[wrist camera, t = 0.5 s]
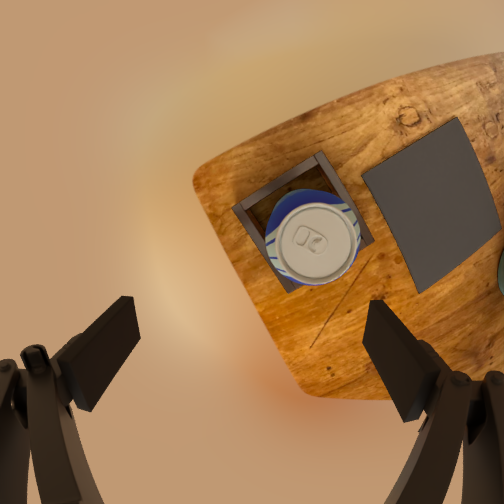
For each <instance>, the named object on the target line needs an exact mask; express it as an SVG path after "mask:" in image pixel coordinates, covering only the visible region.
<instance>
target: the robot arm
mask: <svg viewBox="0 0 504 504" xmlns="http://www.w3.org/2000/svg"><path fill="white" fill-rule="evenodd" d="M140 339H141V337H140V332H139V327H138V322H137V317H136V311H135V305H134V299H133V297H130V296H121V297H120V298H119V299H118V300H117V301H116V302H114V303H113V304H112V305H111V306H110V307H109V308H108V309H107V310H106V311H105V312H104V313H103V314H102V315H101V316H100V317H99V318H98V319H96V321H94V322H93V323H92V324H91V325H90V326H89V327H88V328H87V329H86V330H85V331H84V332H83V333H80V334H78V335H76V336H74V337H72V338H71V339H70V340H69V341H68V342H67V344H65V345H64V346H63V347H62V348H61V349H60V350H59V351H58V352H57V353H56V354H55V355H54V356H53V357H52V358H51V359H49V357H48V354H47V351H46V349H45V347H44V346H43V345H39V344H36V345H31V346H28V347H26V348H25V349H24V350H23V351H22V352H21V354H20V356H21V358H22V361H23V363H24V366H25V368H26V369H18V367H17V364H16V362H15V361H14V360H13V359H4V360H1V361H0V504H27V483H28V469H29V458H30V450H31V454H32V460H33V466H34V472H35V477H36V482H37V486H38V490H39V495H40V499H41V503H42V504H104V502H103V500H102V498H101V496H100V494H99V491H98V489H97V486H96V484H95V481H94V479H93V477H92V473H91V471H90V468H89V465H88V463H87V460H86V457H85V454H84V451H83V448H82V444H81V441H80V438H79V434H78V431H77V428H76V424H75V420H74V416H73V412H72V409H71V407H70V404H69V403H70V402H71V401H72V400H74V402H75V404H76V405H77V408H79V409H82V410H85V411H88V412H92V410H93V408H94V407H95V405H96V404H97V402H98V401H99V399H100V398H101V396H102V394H103V393H104V391H105V390H106V389H107V387H108V385H109V384H110V382H111V381H112V379H113V378H114V376H115V375H116V373H117V372H118V370H119V369H120V368H121V366H122V365H123V363H124V362H125V360H126V359H127V357H128V356H129V354H130V353H131V352H132V350H133V349H134V347H135V346H136V344H137V343H138V341H139V340H140ZM362 343H363V345H364V347H365V349H366V351H367V352H368V354H369V356H370V358H371V360H372V362H373V364H374V365H375V367H376V369H377V371H378V373H379V375H380V377H381V379H382V381H383V383H384V385H385V386H386V388H387V390H388V392H389V394H390V396H391V398H392V400H393V402H394V404H395V406H396V408H397V410H398V412H399V414H400V416H401V418H402V420H403V422H404V423H405V422H409V421H413V420H417V419H419V417H420V415H421V413H422V411H423V410H424V411H425V413H426V414H427V416H426V418H425V420H424V422H423V424H422V426H421V428H420V429H419V431H418V432H420V433H419V435H418V438H417V440H416V442H415V445H414V447H413V449H412V451H411V454H410V456H409V458H408V460H407V462H406V464H405V466H404V468H403V470H402V472H401V474H400V476H399V478H398V480H397V482H396V483H395V485H394V487H393V489H392V491H391V493H390V494H389V496H388V498H387V499H386V501H385V503H384V504H442V503H443V501H444V498H445V496H446V493H447V490H448V487H449V485H450V482H451V478H452V476H453V473H454V469H455V466H456V463H457V459H458V456H459V452H460V448H461V443H462V440H463V489H462V502H461V504H504V374H503V373H502V372H500V371H489V372H487V374H486V375H485V378H484V380H483V381H472V380H471V378H470V377H469V376H468V375H467V374H465V373H463V372H460V371H452V370H451V369H450V368H449V366H448V365H447V364H446V363H445V362H444V360H443V359H442V358H441V357H439V354H438V353H437V352H435V350H434V349H433V347H432V346H431V345H430V344H428V343H427V342H425V341H423V340H417V339H416V338H415V337H414V336H413V334H412V333H411V332H410V331H409V330H408V329H407V327H406V326H405V325H404V324H403V323H402V322H401V320H400V319H399V318H398V317H397V316H396V315H395V314H394V312H393V311H392V310H391V309H390V308H389V307H388V306H387V304H386V303H385V302H384V301H383V300H370V304H369V310H368V316H367V321H366V326H365V331H364V336H363V341H362ZM11 403H12V406H11Z"/></svg>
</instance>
